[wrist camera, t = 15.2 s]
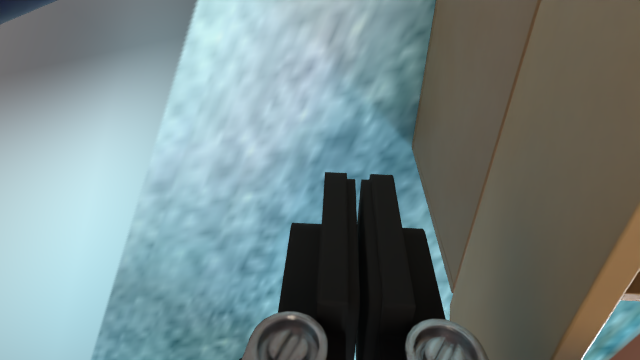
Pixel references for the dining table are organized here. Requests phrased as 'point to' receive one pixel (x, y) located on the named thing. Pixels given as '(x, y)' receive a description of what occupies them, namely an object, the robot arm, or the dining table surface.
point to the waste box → (468, 112)
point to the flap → (560, 190)
